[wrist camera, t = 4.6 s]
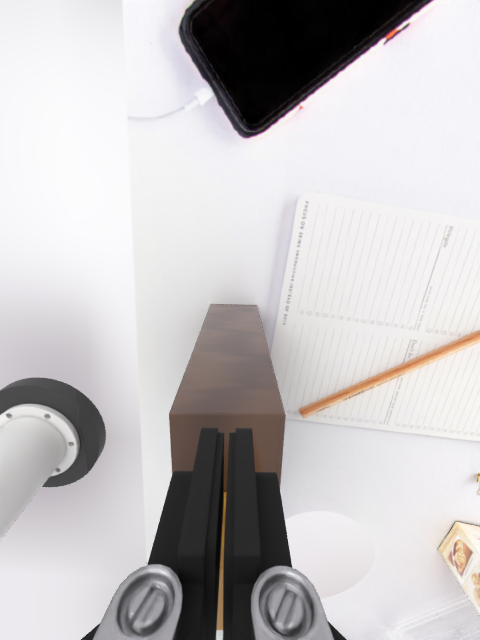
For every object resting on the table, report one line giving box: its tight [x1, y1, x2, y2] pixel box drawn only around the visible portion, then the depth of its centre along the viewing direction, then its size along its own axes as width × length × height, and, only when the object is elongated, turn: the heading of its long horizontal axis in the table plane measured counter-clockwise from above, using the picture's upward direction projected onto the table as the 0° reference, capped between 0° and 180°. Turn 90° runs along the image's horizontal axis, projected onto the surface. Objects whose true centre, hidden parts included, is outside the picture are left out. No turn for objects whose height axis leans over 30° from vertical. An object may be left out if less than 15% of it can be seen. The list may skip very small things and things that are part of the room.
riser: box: [169, 304, 285, 492], centre depth 29 cm, size 6×14×24 cm, turn 179°
